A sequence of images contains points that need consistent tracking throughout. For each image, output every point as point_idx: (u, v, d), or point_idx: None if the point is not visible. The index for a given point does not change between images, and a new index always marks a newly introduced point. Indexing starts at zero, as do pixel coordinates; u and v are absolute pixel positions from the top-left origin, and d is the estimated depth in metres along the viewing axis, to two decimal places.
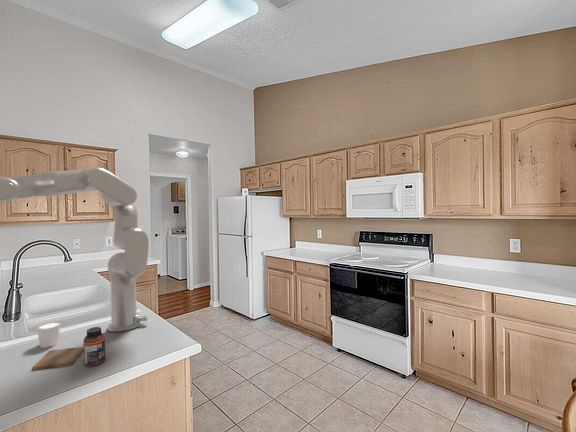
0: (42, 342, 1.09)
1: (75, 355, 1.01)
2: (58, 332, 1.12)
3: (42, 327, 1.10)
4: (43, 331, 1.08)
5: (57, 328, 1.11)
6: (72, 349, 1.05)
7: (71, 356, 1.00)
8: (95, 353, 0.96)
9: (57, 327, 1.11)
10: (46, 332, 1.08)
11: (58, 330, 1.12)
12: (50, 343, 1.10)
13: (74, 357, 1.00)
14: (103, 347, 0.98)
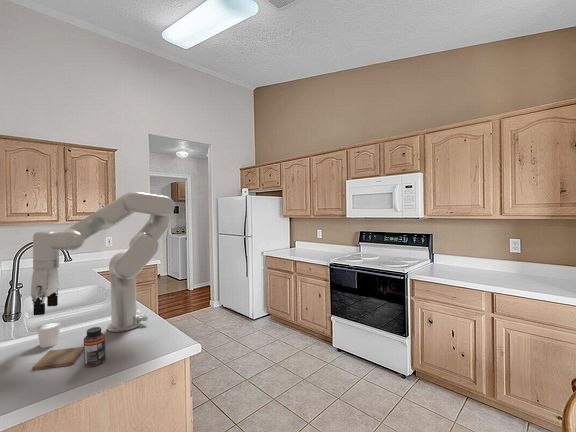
0: (42, 342, 1.09)
1: (75, 355, 1.01)
2: (58, 332, 1.12)
3: (42, 327, 1.10)
4: (43, 331, 1.08)
5: (57, 328, 1.11)
6: (72, 349, 1.05)
7: (71, 356, 1.00)
8: (95, 353, 0.96)
9: (57, 327, 1.11)
10: (46, 332, 1.08)
11: (58, 330, 1.12)
12: (50, 343, 1.10)
13: (74, 357, 1.00)
14: (103, 347, 0.98)
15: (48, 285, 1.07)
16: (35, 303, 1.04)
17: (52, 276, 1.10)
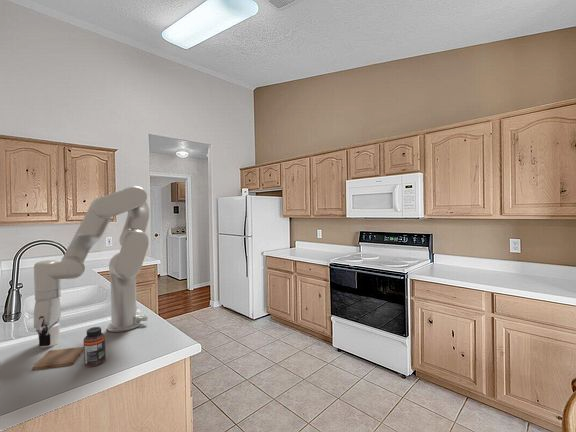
0: None
1: (75, 355, 1.01)
2: (58, 332, 1.12)
3: None
4: None
5: (57, 328, 1.11)
6: (72, 349, 1.05)
7: (71, 356, 1.00)
8: (95, 353, 0.96)
9: (57, 327, 1.11)
10: None
11: (58, 330, 1.12)
12: (50, 343, 1.10)
13: (74, 357, 1.00)
14: (103, 347, 0.98)
15: (50, 315, 1.08)
16: (40, 335, 1.07)
17: (54, 306, 1.10)
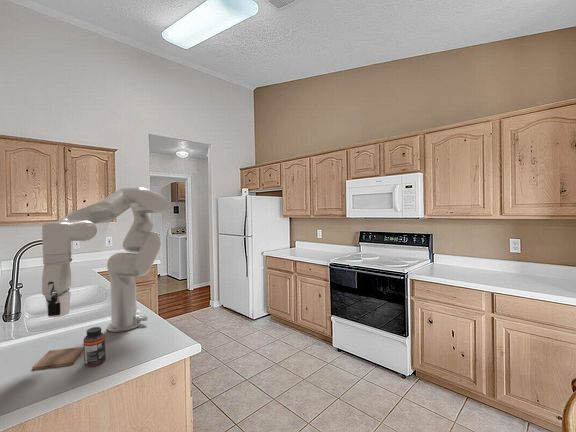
0: None
1: (75, 355, 1.01)
2: (68, 301, 1.00)
3: None
4: None
5: (67, 297, 1.00)
6: (72, 349, 1.05)
7: (71, 356, 1.00)
8: (95, 353, 0.96)
9: (67, 295, 1.00)
10: None
11: (68, 299, 1.00)
12: (60, 313, 0.98)
13: (74, 357, 1.00)
14: (103, 347, 0.98)
15: (60, 281, 0.97)
16: (49, 303, 0.95)
17: (64, 271, 0.99)
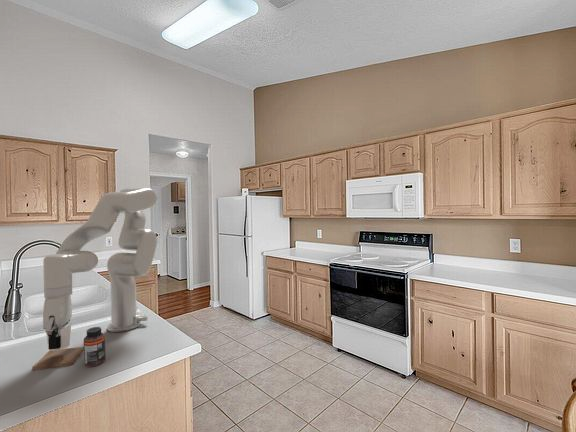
0: None
1: (75, 355, 1.01)
2: (69, 334, 1.01)
3: None
4: None
5: (68, 329, 1.00)
6: (72, 349, 1.05)
7: (71, 356, 1.00)
8: (95, 353, 0.96)
9: (68, 328, 1.00)
10: None
11: (69, 331, 1.01)
12: None
13: (74, 357, 1.00)
14: (103, 347, 0.98)
15: (61, 315, 0.97)
16: (50, 336, 0.95)
17: (65, 304, 0.99)
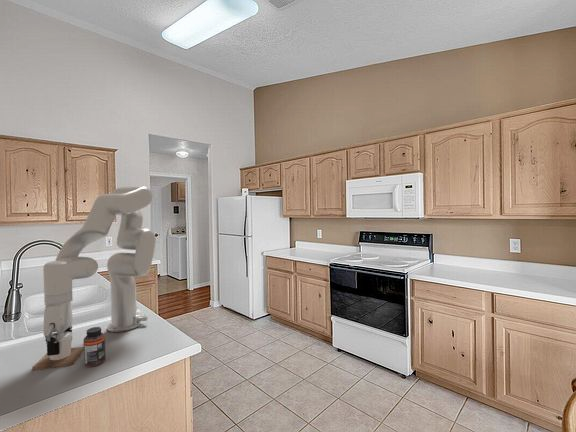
0: None
1: (75, 355, 1.01)
2: (70, 343, 1.01)
3: None
4: None
5: (69, 338, 1.00)
6: (72, 349, 1.05)
7: (71, 356, 1.00)
8: (95, 353, 0.96)
9: (69, 337, 1.00)
10: None
11: (70, 340, 1.01)
12: (62, 355, 0.98)
13: (74, 357, 1.00)
14: (103, 347, 0.98)
15: (62, 322, 0.97)
16: (49, 343, 0.94)
17: (66, 311, 0.99)
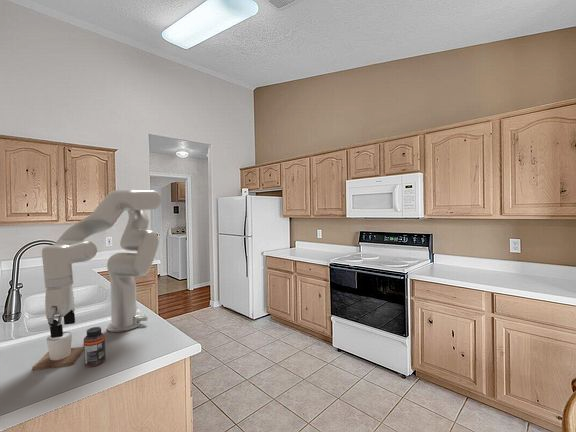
0: (53, 354, 0.97)
1: (75, 355, 1.01)
2: (70, 343, 1.01)
3: None
4: (54, 342, 0.97)
5: (69, 338, 1.00)
6: (72, 349, 1.05)
7: (71, 356, 1.00)
8: (95, 353, 0.96)
9: (69, 337, 1.00)
10: (57, 343, 0.97)
11: (70, 340, 1.01)
12: (62, 355, 0.98)
13: (74, 357, 1.00)
14: (103, 347, 0.98)
15: (63, 305, 0.98)
16: (52, 325, 0.95)
17: (67, 294, 1.00)
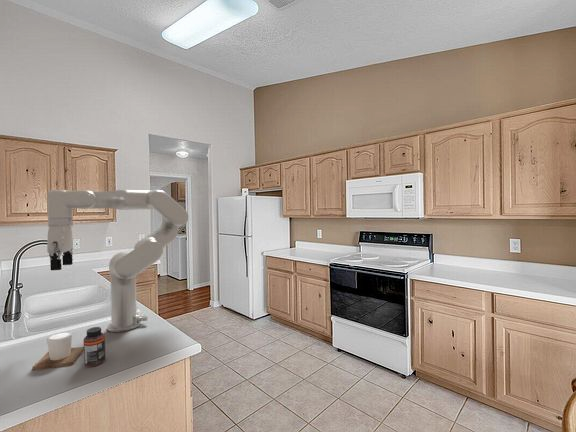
0: (53, 354, 0.97)
1: (75, 355, 1.01)
2: (70, 343, 1.01)
3: (52, 337, 0.99)
4: (54, 342, 0.97)
5: (69, 338, 1.00)
6: (72, 349, 1.05)
7: (71, 356, 1.00)
8: (95, 353, 0.96)
9: (69, 337, 1.00)
10: (57, 343, 0.97)
11: (70, 340, 1.01)
12: (62, 355, 0.98)
13: (74, 357, 1.00)
14: (103, 347, 0.98)
15: (63, 242, 1.10)
16: (52, 258, 1.07)
17: (67, 234, 1.12)
